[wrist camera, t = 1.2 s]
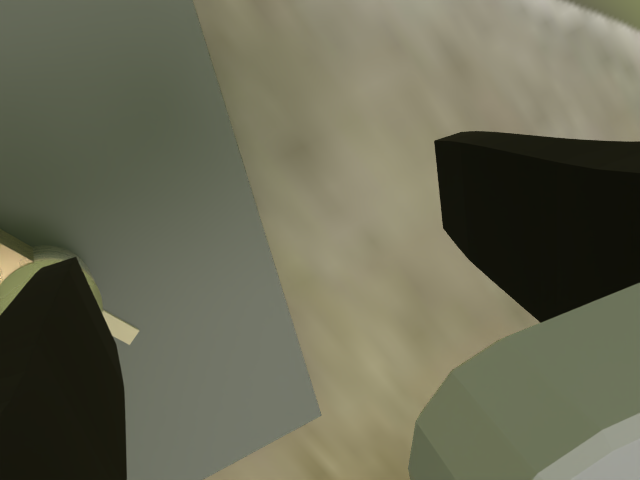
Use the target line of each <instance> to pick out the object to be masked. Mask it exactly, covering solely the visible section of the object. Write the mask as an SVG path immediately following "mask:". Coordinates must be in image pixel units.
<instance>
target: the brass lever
mask: <svg viewBox="0 0 640 480" xmlns="http://www.w3.org/2000/svg"><path fill="white" fill-rule="evenodd" d="M73 257H77V260H78V262H79V264H80V266H81V268H82V271H83V273H84V275H85V277H86V279H87V281H88V284H89V286H90V288H91V290H92V292H93V295H94V297H95V299H96V301H97V303H98V305H99V308H100V310H101V312H103V303H102V298H101V294H100V291H99V289H98V287H97V285H96V283H95V281H94V278H93V276H92V274H91V272H90V270H89V268H88V267H87V265H86V264H85V263H84V261H83V260H82V259H81V258H80V257H78V256H77V255H76V254H74V253H73V252H71V251H69V250H67V249H64V248H61V247H57V246H49V245H43V246H35V247H31V246H29V245H27V244H25V243H24V242H22V241H20V240H18V239H17V238H15V237H13V236H12V235H10V234H8V233H6V232H5V231H3V230H1V229H0V315H1V314H2V313H3V311H4V310H5V309H6V308H7V307H8V305H9V304H10V303H11V302H12V301H13V299H14V298H15V297H16V296H17V294H18V293H19V292H20V291H21V290H22V288H23V287H24V286H25V285H26V283H27V282H28V281H29V280H30V279H31V278H32V277H33V275H34V274H35V273H36V272H37V271H38V270H40V269H41V268H42V267H45V266H48V265H51V264H54V263H58V262H61V261H64V260H67V259H70V258H73Z"/></svg>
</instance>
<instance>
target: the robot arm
mask: <svg viewBox="0 0 640 480" xmlns="http://www.w3.org/2000/svg"><path fill="white" fill-rule="evenodd" d="M434 143H435V152H436V162H437V172H438V182H439V192H440V202H441V211H442V221H443V229H444V230H445V231H446V232H447V234H448V235H449V236H450V237H451V239H452V240H453V241H454V243H455V244H456V245H457V246H458V247H459V249H460V250H461V251H462V252H463V253H464V254H465V256H466V257H467V258H468V259H469V260H470V261H471V262H472V263H473V264H474V265H475V266H476V267H477V268H479V269H480V270H481V271H482V272H483V273H484V274H485V275H486V276H488V277H489V278H490V279H491V280H492V281H493V282H494V283H495V284H497V285H498V286H499V287H500V288H501V289H502V290H504V291H505V292H506V293H507V294H508V295H509V296H510V297H512V298H513V299H514V300H515V301H516V302H517V303H519V304H520V305H521V306H522V307H523V308H524V309H525V310H527V311H528V312H529V313H530V314H531V315H532V316H534V317H535V318H536V319H537V320H538V321H539V322H540V323H539V324H537V325H534V326H532V327H529V328H527V329H524V330H522V331H519V332H517V333H514V334H512V335H509V336H507V337H505V338H502V339H500V340H498V341H496V342H494V343H493V344H491V345H490V346H488V347H487V348H485V349H484V350H482V351H481V352H479V353H478V354H476V355H475V356H473V357H471V358H470V359H468V360H467V361H465V362H464V363H462V364H461V365H459V366H458V367H456V368H455V369H453V370H452V371H451V372H450V373H449V375H448V376H447V377H446V379H445V380H444V382H443V383H442V384H441V386H440V387H439V388H438V390H437V391H436V393H435V394H434V395H433V397H432V398H431V399H430V401H429V402H428V404H427V405H426V406H425V408H424V409H423V411H422V412H421V413H420V415H419V417H418V418H417V420H416V423H415V429H414V436H413V442H412V448H411V454H410V460H409V467H408V470H409V476H410V480H640V142H621V141H597V140H578V139H565V138H554V137H543V136H532V135H522V134H511V133H500V132H484V131H469V132H460V133H457V134H454V135H451V136H448V137H444V138H441V139H438V140H435V141H434ZM0 480H127V458H126V419H125V391H124V383H123V377H122V371H121V366H120V361H119V355H118V350H117V345H116V343H115V340H114V338H113V336H112V334H111V332H110V329H109V327H108V325H107V323H106V321H105V319H104V316H103V314H102V312H101V310H100V308H99V305H98V303H97V301H96V299H95V297H94V295H93V292H92V290H91V288H90V286H89V284H88V281H87V279H86V277H85V275H84V273H83V271H82V268H81V266H80V264H79V262H78V260H77V257H73V258H70V259H67V260H64V261H61V262H58V263H54V264H51V265H48V266H45V267H42V268H41V269H40V270H38V271H37V272H36V273H35V274H34V275H33V277H32V278H31V279H30V280H29V281H28V282H27V283H26V285H25V286H24V287H23V288H22V290H21V291H20V292H19V293H18V294H17V296H16V297H15V298H14V299H13V301H12V302H11V303H10V304H9V305H8V307H7V308H6V309H5V310H4V311H3V313H2V314H1V315H0Z"/></svg>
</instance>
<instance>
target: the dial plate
mask: <svg viewBox="0 0 640 480" xmlns="http://www.w3.org/2000/svg"><path fill="white" fill-rule="evenodd" d="M0 229H1V230H3V231H5V232H6V233H8V234H10V235H12V236H13V237H15V238H17V239H18V240H20V241H22V242H24V243H25V244H27V245H29V246H31V247H35V246H43V245H49V246H57V247H61V248H64V249H67V250H69V251H71V252H73V253H74V254H76V255H77V256H78V257H80V258H81V259H82V260H83V261H84V263H85V264H86V265H87V267H88V268H89V270H90V272H91V274H92V276H93V278H94V281H95V283H96V285H97V287H98V289H99V291H100V294H101V298H102V303H103V312H102V314H103V316H104V319H105V321H106V323H107V325H108V327H109V329H110V332H111V334H112V336H113V338H114V340H115V343H116V345H117V350H118V355H119V361H120V366H121V371H122V377H123V383H124V391H125V419H126V458H127V480H203V479H205V478H207V477H209V476H210V475H212V474H214V473H216V472H218V471H220V470H222V469H223V468H225V467H227V466H229V465H231V464H233V463H234V462H236V461H238V460H240V459H242V458H244V457H246V456H247V455H249V454H251V453H253V452H255V451H257V450H259V449H260V448H262V447H264V446H266V445H268V444H270V443H271V442H273V441H275V440H277V439H279V438H281V437H283V436H284V435H286V434H288V433H290V432H292V431H294V430H296V429H297V428H299V427H301V426H303V425H305V424H307V423H308V422H310V421H312V420H314V419H316V418H318V417H320V416H321V412H320V409H319V406H318V403H317V399H316V396H315V393H314V390H313V387H312V383H311V380H310V377H309V374H308V371H307V367H306V364H305V361H304V358H303V354H302V351H301V348H300V345H299V342H298V338H297V335H296V332H295V329H294V325H293V322H292V319H291V316H290V313H289V309H288V306H287V303H286V300H285V297H284V293H283V290H282V287H281V284H280V280H279V277H278V274H277V271H276V268H275V264H274V261H273V258H272V255H271V251H270V248H269V245H268V242H267V239H266V235H265V232H264V229H263V226H262V223H261V219H260V216H259V213H258V210H257V206H256V203H255V200H254V197H253V194H252V190H251V187H250V184H249V181H248V177H247V174H246V171H245V168H244V165H243V161H242V158H241V155H240V152H239V149H238V145H237V142H236V139H235V136H234V132H233V129H232V126H231V123H230V120H229V116H228V113H227V110H226V107H225V103H224V100H223V97H222V94H221V91H220V87H219V84H218V81H217V78H216V75H215V71H214V68H213V65H212V62H211V58H210V55H209V52H208V49H207V46H206V42H205V39H204V36H203V33H202V29H201V26H200V23H199V20H198V17H197V13H196V10H195V7H194V4H193V1H192V0H0Z"/></svg>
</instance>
